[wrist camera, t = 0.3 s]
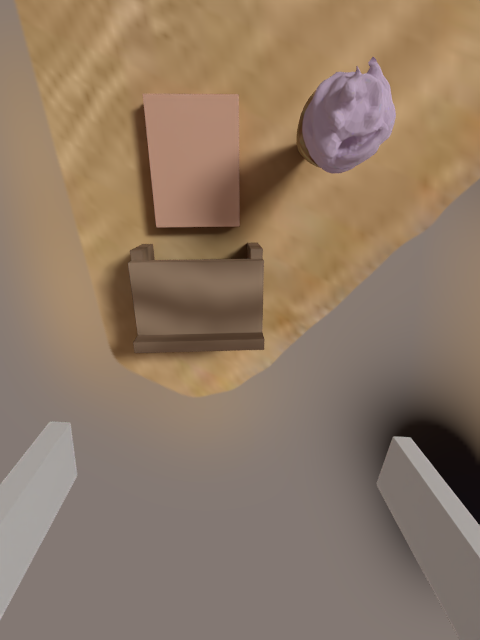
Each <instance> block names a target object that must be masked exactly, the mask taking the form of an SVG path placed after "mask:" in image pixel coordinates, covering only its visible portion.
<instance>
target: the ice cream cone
mask: <svg viewBox="0 0 480 640" xmlns="http://www.w3.org/2000/svg"><path fill="white" fill-rule="evenodd" d="M369 66H370V69H369V71H368V72H367V73H366V74H361V72H360V70H359V68H358V66H357V70H356V72H350V73H344V72H336V73H335V74H334V75H332V76H331V77H330V78H328V79H326V80H324V81H323V82H322V83H321V84H320V85H319V86H318V88H317V90H316V91H315V92H314V93H313V94H312V95H311V96H310V98H309V99H308V101H307V103H306V104H305V106H304V108H303V111H302V113H301V116H300V120H299V125H298V129H297V147H298V150H299V152H300V154H301V155H302V156H303V158H304V159H305V160H307V161H308V162H309V163H311V164H313V165H315V166H317V167H320V168H322V169H323V170H325V171H326V172H329V173H342V172H345V171H348V170H350V169H352V168H354V167H355V166H356V165H358V164H360V163H362V162H364V161H365V160H367V159H368V158H370V157H371V156H372V155H374V154H375V153H376V152H377V150H378V148H379V145H380V144H382V143H383V142H384V141H385V140H386V139H388V138H389V136H390V135H391V132H392V129H393V125H394V122H395V117H396V113H395V107H394V104H393V102H392V97H391V90H390V85H389V83H388V81H387V80H386V78H385V77H384V76H383V74H382V71H381V68H380V66H379V65H378V63H377V62H376V59H375V58H374V57H372V59H371V60H370V61H369Z"/></svg>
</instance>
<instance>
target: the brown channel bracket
mask: <svg viewBox="0 0 480 640" xmlns="http://www.w3.org/2000/svg"><path fill="white" fill-rule="evenodd" d="M130 254H131V261H130V262H128V267H129V274H130V282H131V289H132V296H133V303H134V310H135V318H136V325H137V332H138V336H137V338H136V339H135V341H134V342H133V344H134V351H135V353H156V352H193V351H230V350H264V337H263V333H262V320H263V275H264V260H263V259H262V254H263V249H262V247H261V246H260V245H259V244H258V243H247V259H202V260H155V259H154V249H153V244H142V245H140V246H138V247H136V248H134V249H132V250H130Z"/></svg>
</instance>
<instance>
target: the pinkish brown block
mask: <svg viewBox="0 0 480 640" xmlns="http://www.w3.org/2000/svg"><path fill="white" fill-rule="evenodd" d="M143 102H144V111H145V121H146V131H147V141H148V151H149V161H150V170H151V180H152V190H153V200H154V210H155V220H156V227H232V226H240V204H239V94H143Z"/></svg>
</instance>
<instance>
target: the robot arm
mask: <svg viewBox="0 0 480 640" xmlns="http://www.w3.org/2000/svg"><path fill="white" fill-rule="evenodd" d="M76 477H77V470H76V463H75V454H74V447H73V439H72V432H71V424H70V423H69V422H49V423H48V425H47V426H46V427H45V429H44V430H43V431H42V432H41V433H40V435H39V436H38V438H37V439H36V440H35V441H34V443H33V444H32V445H31V446H30V448H29V449H28V450H27V451H26V453H25V454H24V455H23V456H22V458H21V459H20V460H19V462H18V463H17V464H16V465H15V467H14V468H13V469H12V470H11V472H10V473H9V474H8V475H7V477H6V478H5V479H4V481H3V482H2V483H1V485H0V619H1V617H2V616H3V613H4V612H5V610H6V608H7V606H8V604H9V602H10V600H11V599H12V597H13V595H14V593H15V591H16V589H17V587H18V586H19V584H20V581H21V580H22V578H23V576H24V574H25V572H26V571H27V569H28V567H29V565H30V563H31V561H32V559H33V557H34V556H35V554H36V552H37V550H38V548H39V546H40V544H41V542H42V540H43V539H44V537H45V535H46V533H47V531H48V529H49V527H50V525H51V524H52V522H53V520H54V518H55V516H56V514H57V512H58V510H59V509H60V507H61V505H62V503H63V501H64V499H65V497H66V496H67V493H68V492H69V490H70V488H71V486H72V484H73V482H74V480H75V479H76ZM376 485H377V487H378V489H379V491H380V492H381V494H382V496H383V498H384V500H385V501H386V504H387V505H388V507H389V509H390V511H391V513H392V515H393V517H394V518H395V520H396V522H397V524H398V526H399V528H400V530H401V532H402V533H403V535H404V537H405V539H406V541H407V543H408V545H409V546H410V548H411V550H412V552H413V554H414V556H415V558H416V559H417V562H418V563H419V565H420V567H421V569H422V571H423V573H424V575H425V576H426V578H427V580H428V582H429V584H430V586H431V588H432V590H433V592H434V593H435V595H436V597H437V599H438V601H439V603H440V604H441V606H442V608H443V610H444V612H445V614H446V616H447V618H448V620H449V621H450V623H451V625H452V627H453V629H454V631H455V633H456V635H457V636H458V638H459V640H480V526H479V524H478V523H477V522H476V521H475V519H474V518H473V517H472V515H471V514H470V513H469V512H468V510H467V509H466V508H465V507H464V505H463V504H462V503H461V501H460V500H459V499H458V498H457V496H456V495H455V494H454V492H453V491H452V490H451V489H450V487H449V486H448V485H447V484H446V482H445V481H444V480H443V478H442V477H441V476H440V475H439V473H438V472H437V471H436V470H435V468H434V467H433V466H432V465H431V463H430V462H429V461H428V459H427V458H426V457H425V455H424V454H423V453H422V452H421V451H420V449H419V448H418V447H417V445H416V444H415V443H414V441H413V440H412V439H411V438H410V437H393V439H392V441H391V444H390V447H389V450H388V453H387V456H386V458H385V461H384V464H383V467H382V470H381V472H380V475H379V478H378V481H377V484H376Z"/></svg>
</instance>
